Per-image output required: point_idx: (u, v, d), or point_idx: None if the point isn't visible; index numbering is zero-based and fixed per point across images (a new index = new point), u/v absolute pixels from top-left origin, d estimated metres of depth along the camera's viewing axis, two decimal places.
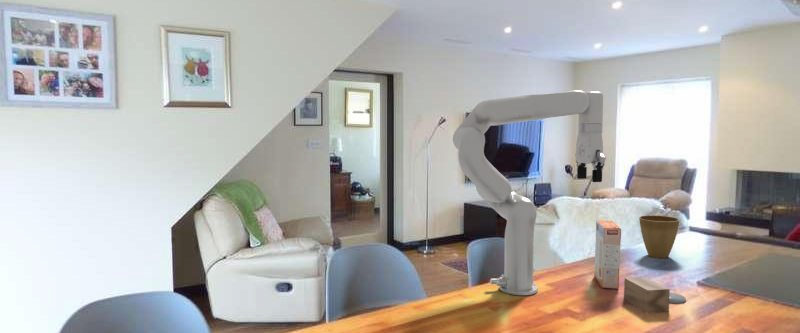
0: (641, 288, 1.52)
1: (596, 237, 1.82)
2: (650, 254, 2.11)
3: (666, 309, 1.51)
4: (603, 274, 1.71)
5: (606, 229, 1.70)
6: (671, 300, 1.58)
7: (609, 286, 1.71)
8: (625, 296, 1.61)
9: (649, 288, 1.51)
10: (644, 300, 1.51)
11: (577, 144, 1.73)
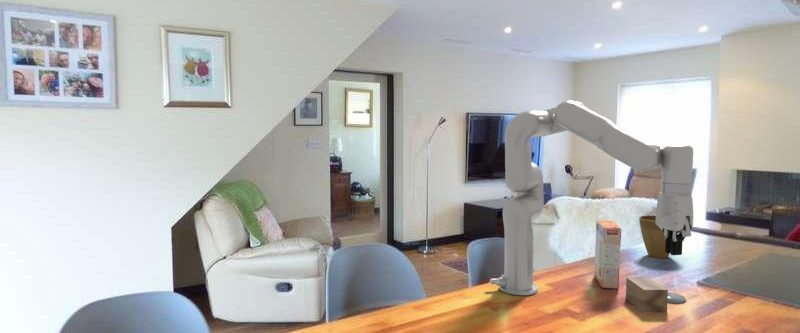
0: (639, 287, 1.53)
1: (596, 237, 1.82)
2: (650, 254, 2.11)
3: (664, 310, 1.50)
4: (603, 274, 1.71)
5: (606, 229, 1.70)
6: (671, 300, 1.58)
7: (609, 286, 1.71)
8: (626, 295, 1.61)
9: (647, 288, 1.51)
10: (641, 300, 1.51)
11: (658, 205, 1.45)
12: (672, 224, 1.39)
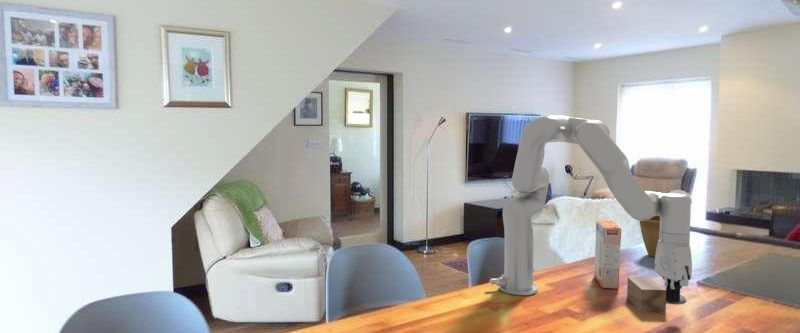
0: (637, 287, 1.53)
1: (596, 237, 1.82)
2: (650, 254, 2.11)
3: (662, 310, 1.50)
4: (603, 274, 1.71)
5: (606, 229, 1.70)
6: None
7: (609, 286, 1.71)
8: (628, 295, 1.62)
9: (645, 287, 1.52)
10: (639, 299, 1.52)
11: (657, 253, 1.46)
12: (671, 273, 1.40)
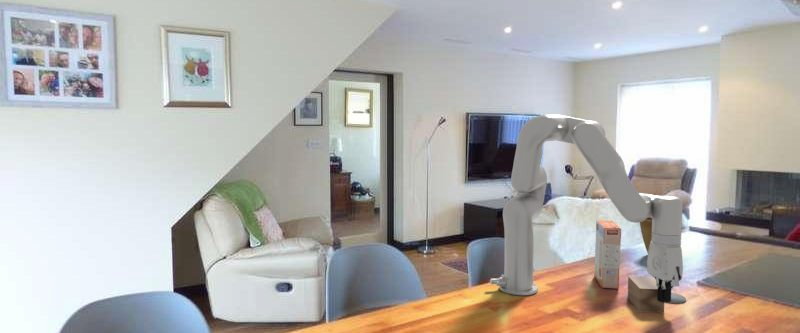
0: (636, 286, 1.54)
1: (596, 237, 1.82)
2: None
3: (661, 309, 1.50)
4: (603, 274, 1.71)
5: (606, 229, 1.70)
6: (671, 300, 1.58)
7: (609, 286, 1.71)
8: (628, 294, 1.62)
9: (644, 286, 1.52)
10: (638, 298, 1.52)
11: (649, 254, 1.50)
12: (662, 274, 1.44)
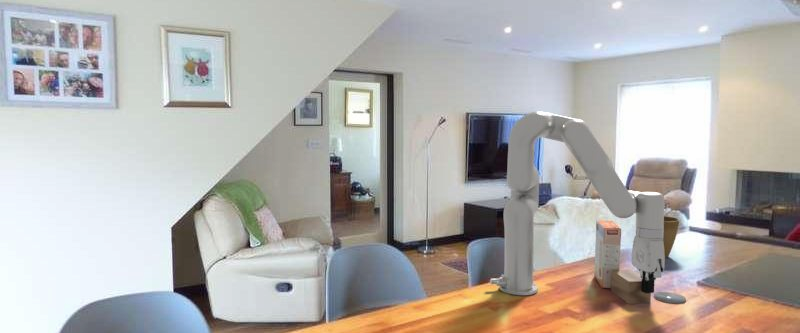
0: (624, 279, 1.60)
1: (596, 237, 1.82)
2: None
3: (648, 300, 1.58)
4: (603, 274, 1.71)
5: (606, 229, 1.70)
6: (671, 300, 1.58)
7: (609, 286, 1.71)
8: (612, 287, 1.69)
9: (631, 279, 1.59)
10: (626, 291, 1.59)
11: (634, 247, 1.57)
12: (645, 266, 1.52)
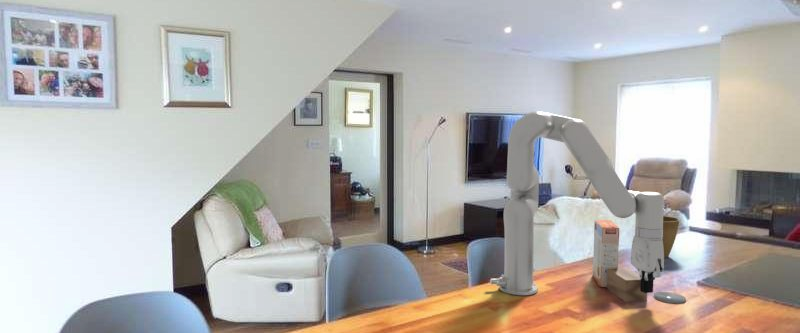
0: (621, 278, 1.62)
1: (594, 236, 1.83)
2: None
3: (644, 298, 1.60)
4: (601, 273, 1.72)
5: (604, 228, 1.71)
6: (671, 300, 1.58)
7: None
8: (608, 286, 1.71)
9: (628, 278, 1.61)
10: (623, 290, 1.60)
11: (633, 247, 1.58)
12: (645, 266, 1.52)
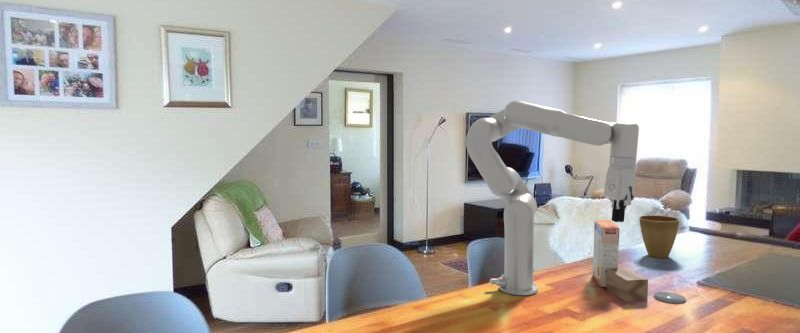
0: (621, 278, 1.62)
1: (594, 236, 1.83)
2: (650, 254, 2.11)
3: (645, 298, 1.60)
4: (601, 273, 1.72)
5: (604, 228, 1.71)
6: (671, 300, 1.58)
7: None
8: (608, 286, 1.70)
9: (629, 278, 1.60)
10: (624, 290, 1.60)
11: (607, 177, 1.60)
12: (616, 194, 1.54)
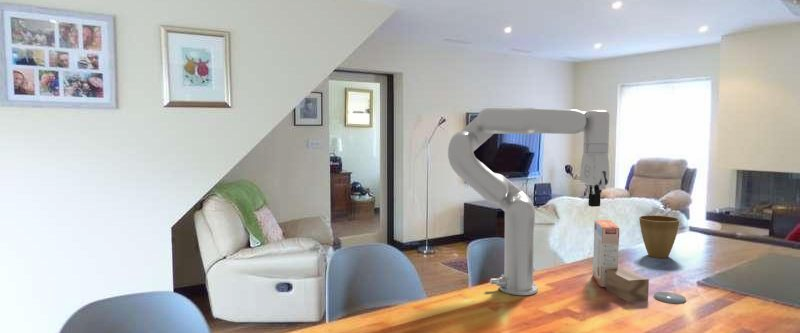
0: (622, 278, 1.62)
1: (594, 236, 1.83)
2: (650, 254, 2.11)
3: (645, 298, 1.60)
4: (601, 273, 1.72)
5: (604, 228, 1.71)
6: (671, 300, 1.58)
7: None
8: (607, 287, 1.70)
9: (630, 278, 1.60)
10: (625, 290, 1.60)
11: (582, 164, 1.66)
12: (591, 179, 1.60)
